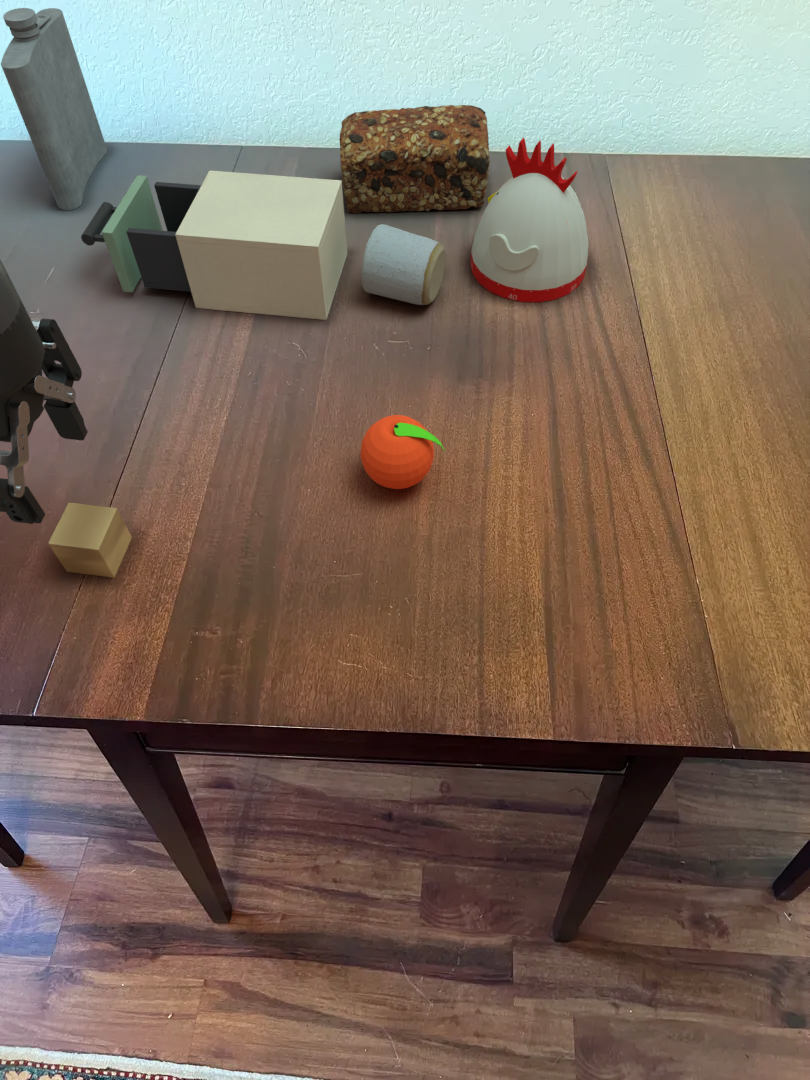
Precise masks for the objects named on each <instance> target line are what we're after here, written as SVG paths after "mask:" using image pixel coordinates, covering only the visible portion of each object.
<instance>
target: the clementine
mask: <svg viewBox="0 0 810 1080" xmlns="http://www.w3.org/2000/svg"><path fill="white" fill-rule="evenodd" d="M434 443H435V444H437V446H440V448H441V449H442V450H443V451H444V452H446V450H445V448H444V446H443V444H442V442H441V441H440V440H439V439H438V438H437V437H436V436H435V435H433V434H432V433H431V432H429V431H428V429H426V428H425V425H423V424H421V422H419V421H418V420H416V419H414V418H412V417H410V416H407V415H402V414H394V415H393V414H392V415H388V416H387V415H386V416H385V417H383V418H380V419H379V420H377V421H376V422H374V423H373V424H372V425H371V426H370V427H369V428H368V429H367V431H365V434H364V436H363V437H362V441H361V447H360V460H361V463H362V466H363V469H364V470H365V472H366V473H367V476H369V477H370V479H371V480H373V481H374V482H375V483H376V484H378V485H379V486H381V487H384V488H387V489H392V490H402V489H407V488H410V487H412V486H415V485H418V483H420V482H421V481H422V480H423V479H424V478H425V477H426V476H427V474H428V473H429V472H430V470H431V468H432V466H433V462H434V458H435V447H434Z"/></svg>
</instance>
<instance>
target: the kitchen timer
mask: <svg viewBox="0 0 810 1080" xmlns="http://www.w3.org/2000/svg"><path fill="white" fill-rule="evenodd" d="M517 146H518V147H517V153H516V154H515V152H514V150H513V149H512V147H511V145H508V146H507V147H506V149H505V156H506V160H507V163H508V167H509V169H510V172H511V176H512V177H510V178H509V179H508V180H506V181H505V183H503V184H502V186H500V188H499V189H498V190H497V191H496V192H494V193H492V194H491V195H490V196H488V197H487V203H488V204H487V205H486V207H485V210H484V212H483V214H482V216H481V218H480V221H479V224H478V226H477V229H476V232H475V234H474V239H473V243H472V246H471V251H470V269H471V273H472V275H473V277H474V278H475V279H476V281H477V283H478V284H479V285H480V286H482V287H483V288H485V289H486V290H487V291H488V292H490V293H492V294H494V295H496V296H499V297H501V298H504V299H507V300H510V301H515V302H520V303H542V302H548V301H549V302H550V301H555V300H557V299H559V298H563V297H565V296H568V295H570V294H571V293H572V292H573V291H575V290H576V289H577V288H578V287H579V286H580V284H581V283H582V281H583V280H584V278H585V275H586V271H587V266H588V258H589V257H588V256H589V236H588V228H587V222H586V221H587V220H586V216H585V213H584V210H583V208H582V204H581V201H580V199H579V197H578V196H577V194H576V192H575V189H574V188H573V187H572V186H571V184H572V182H573V181H574V180H575V178H576V176H577V174H578V171H577V170H576V171H575V172H574V173H573V174H572V175H571V176H569V177H568V178H566V179H565V178H564V177H563V176H562V172H563V170H564V167H565V165H566V163H567V159H568V158H567V156H565V157H563V158H562V160H560V161H559V163H558V164H557V165H555V143H552V144H551V145H550V147H549V148H548V150H547V151H546V153H545V157H544V160H543V161H542V140H539V141H538V142H537V143H536V144H535V147H534V148H533V151H532V154H531V157H529V156H528V149H527V144H526V140H525V137H522V138H521V140H520V141H519V142H518V145H517Z"/></svg>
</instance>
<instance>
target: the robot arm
mask: <svg viewBox="0 0 810 1080" xmlns="http://www.w3.org/2000/svg"><path fill="white" fill-rule="evenodd" d="M56 362H58V363H56ZM43 374H44V375H45V376H43ZM82 376H83V372H82V367H81V366H80V364H79V363H78V360H77V358H76V357H75V354H74V352H73V351H72V349H71V347H70V345H69V344H68V341H67V339H66V338H65V335H64V334H63V332H62V329H61V328H60V326H59V325H58V322H57V321H56V319H53V318H42V317H32V316H29V313H28V311H27V308H26V307H25V305H24V304H23V301H22V299H21V297H20V294H19V292H18V291H17V288H16V287H15V285H14V283H13V281H12V278H11V277H10V275H9V273H8V270H7V269H6V267H5V265H4V263H3V262H2V259H0V442H3V443H10V445H11V450H0V466H4V467H5V468H6V472H7V478H4V477H3V478H2V477H0V513H5V514H6V515H7V516H8V518H9V519H10V521H12V522H15V523H21V524H28V525H33V524H41V523H42V522H43V520H44V518H45V516H46V513H45V511H44V509H43V507H42V506H41V505H40V503H39V502H38V500H37V498H36V497H35V496H34V494H33V493H32V490H30V488H29V487H28V486H27V485H26V484H25V483H26V482H25V472H24V471H25V469H24V465H25V464H27V463H29V461H30V450H29V449H30V448H29V447H30V446H29V436H30V435H31V432H32V431H33V427H34V425H35V422H36V421H37V420H38V419H39V418H40V417H41V416H42V414H43V412H44V410H45V411H46V413H47V416H48V418H49V420H50V422H51V423H52V424H53V427H54V428H55V430H56V432H57V434H58V435H59V437H60V438H63V439H65V440H73V441H84V440H85V438H86V437H87V435H88V429H87V427H86V425H85V420H84V417H83V415H82V413H81V411H80V409H79V407H78V405H77V403H76V399H77V398H76V397H77V392H76V390H75V388H73V387H74V383H75V382H79V381H81V379H82ZM44 401H45V402H44Z"/></svg>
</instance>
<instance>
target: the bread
mask: <svg viewBox="0 0 810 1080" xmlns="http://www.w3.org/2000/svg"><path fill="white" fill-rule="evenodd" d="M489 142H490V141H489V128H488V117H487V116H486V111H484V109H482V108H481V107H478V106H475V105H471V104H459V105H454V104H449V105H439V106H428V105H424V106H418V107H417V106H416V107H406V108H405V107H401V108H400V109H398V108H393V109H392V108H389V109H388V108H387V109H386V108H385V109H379V110H377V109H376V110H364V111H355V112H353V113H351V114H349V115H347V116H346V117H345V118H344V119H343V120H342V121H341V129H340V133H339V149H340V151H339V158H340V171H341V178H342V179H341V181H342V189H343V192H344V200H345V204H346V206H347V211H348V212H350V213H352V214H361V213H362V212H368V213H382V212H386V213H397V212H421V211H426V212H429V211H431V210H437V211H447V210H448V211H457V210H467V209H470V208H471V207H472V208H479V207H482V206H484V204H485V202H486V201H485V200H486V192H487V189H488V185H489V184H488V183H489V175H490V169H489V167H490V162H491V161H490V146H489V145H490V143H489Z"/></svg>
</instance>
